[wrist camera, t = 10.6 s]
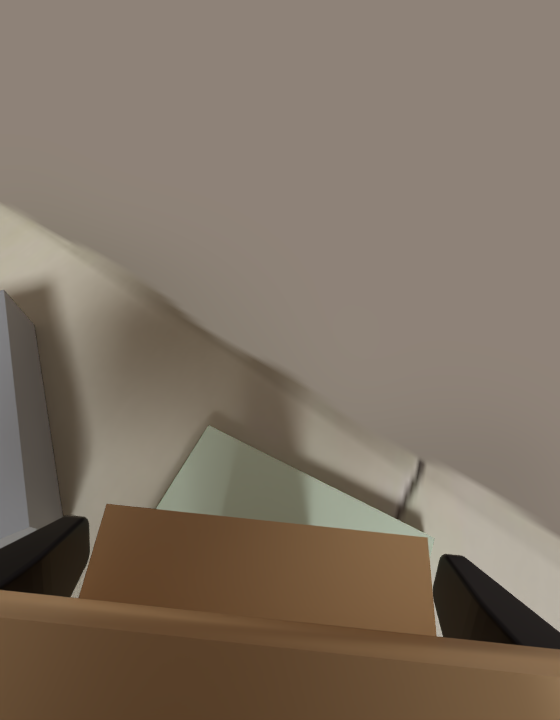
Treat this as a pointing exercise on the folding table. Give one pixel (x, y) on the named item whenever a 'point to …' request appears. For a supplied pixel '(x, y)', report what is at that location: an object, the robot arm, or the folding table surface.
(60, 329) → the folding table surface
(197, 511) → the rubber pad
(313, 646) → the t key
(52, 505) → the gray square ring
